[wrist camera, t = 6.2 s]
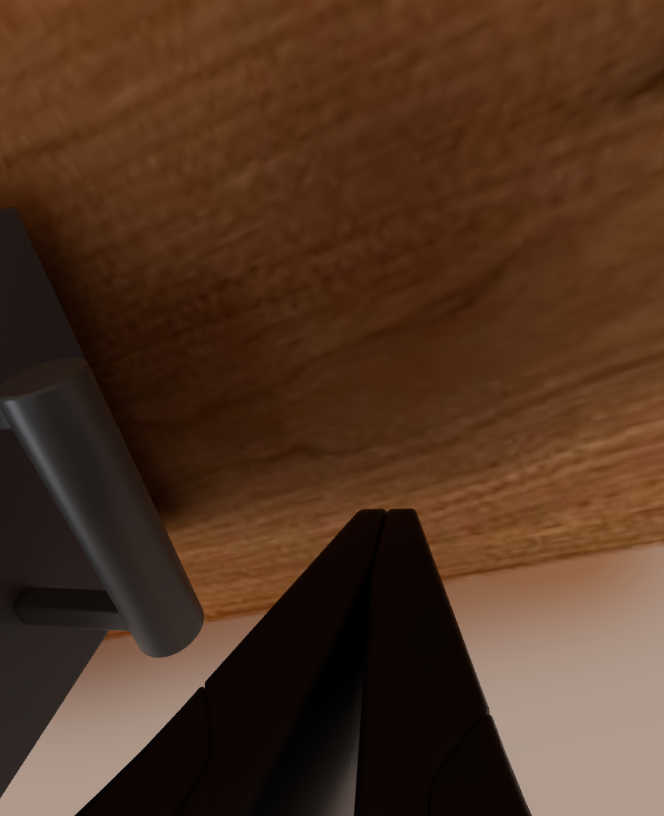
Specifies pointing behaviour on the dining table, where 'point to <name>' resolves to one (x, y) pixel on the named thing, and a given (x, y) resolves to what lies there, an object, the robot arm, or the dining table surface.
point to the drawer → (67, 515)
